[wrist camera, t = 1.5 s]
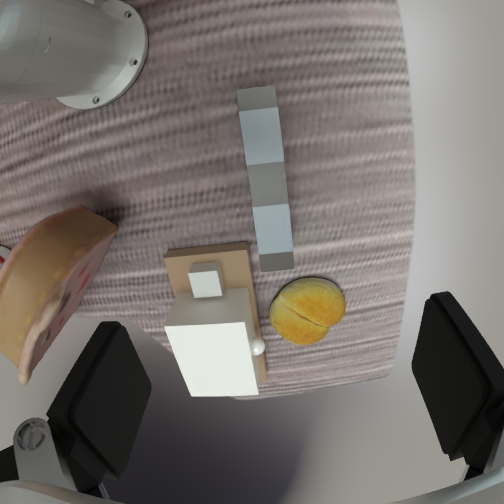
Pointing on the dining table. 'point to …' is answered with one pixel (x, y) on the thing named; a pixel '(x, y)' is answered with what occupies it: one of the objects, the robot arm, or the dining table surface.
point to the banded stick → (266, 176)
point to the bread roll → (307, 310)
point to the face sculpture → (48, 281)
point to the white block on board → (215, 320)
